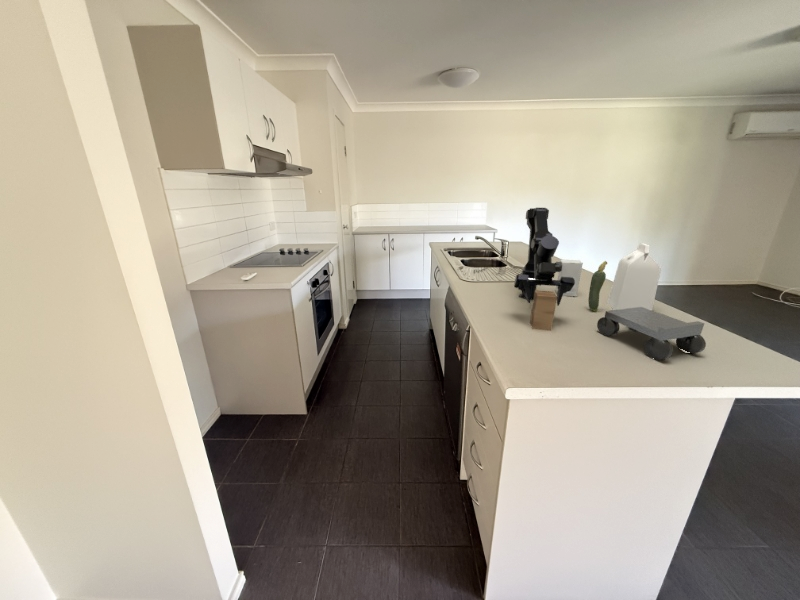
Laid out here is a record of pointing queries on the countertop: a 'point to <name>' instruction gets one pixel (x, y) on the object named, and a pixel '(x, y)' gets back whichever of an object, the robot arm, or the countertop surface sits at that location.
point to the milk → (635, 280)
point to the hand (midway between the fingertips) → (543, 304)
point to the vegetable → (596, 287)
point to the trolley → (655, 330)
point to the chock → (543, 310)
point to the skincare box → (571, 274)
